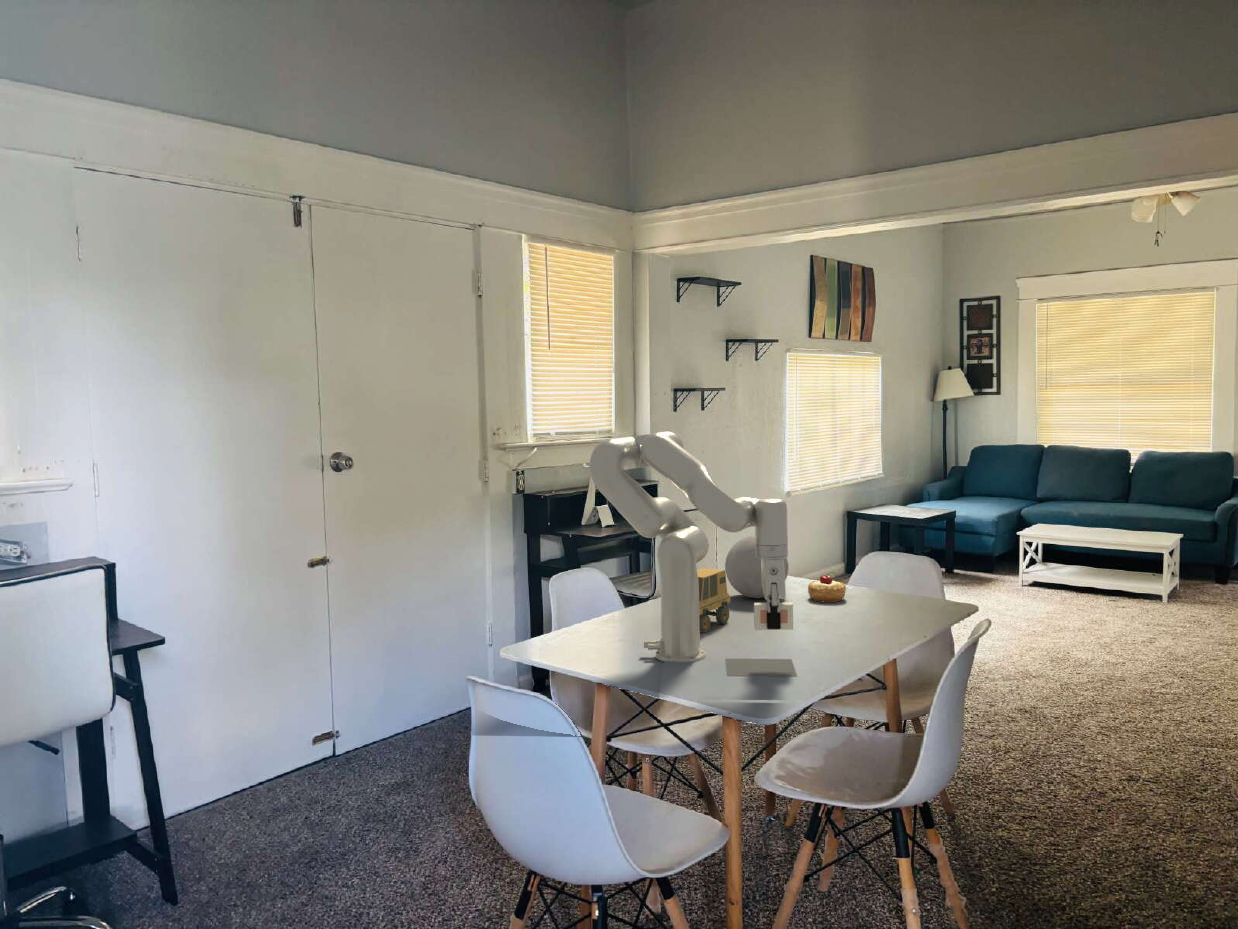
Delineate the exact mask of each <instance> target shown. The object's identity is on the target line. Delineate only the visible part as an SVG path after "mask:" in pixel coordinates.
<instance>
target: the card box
mask: <svg viewBox="0 0 1238 929" xmlns="http://www.w3.org/2000/svg"><path fill="white" fill-rule="evenodd" d="M779 603H780V615H781V628H780V629H767V612H768V603H766V602H754V603H753V613H754V614H753V616H754V619H753V620H754V621H753V622H754V623H753V624H754V630H755V631H769V630H770V631H773V630H775V631H777V630H778V631H779V630H780V631H781V630H783V631H786V630H787V631H789V630H794V603H793V602H785V601H784V602H783V601H782V602H781V601H780V602H779Z"/></svg>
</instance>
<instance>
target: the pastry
mask: <svg viewBox="0 0 1238 929" xmlns="http://www.w3.org/2000/svg"><path fill="white" fill-rule="evenodd" d="M829 574H833V575H835V576H836V577H837V578H839V576H838V575H837V574H836V573H835V572H833V571H828V573H827V574H826V575H825V574H824V575H823V574H822V575H821V576H820V577H819V580H817V581H811V582H810V583H809V584H808V585H807V593H808V596H809V598H810V599H811V600H812V599H813V600H812V601H814V600H816V601H815V602H818V601H824V602H823V603H836V602H835V601H839V602H841V601H840V600H842V599H843V600H844V598H845V595H846V592H847V591H846V590H847V587H846V584H845V583H844V582H843V581H842V582H841V581H839V580H837V581H835V580H833V578H832V577H831V576H829ZM843 600H842V601H843Z"/></svg>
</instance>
